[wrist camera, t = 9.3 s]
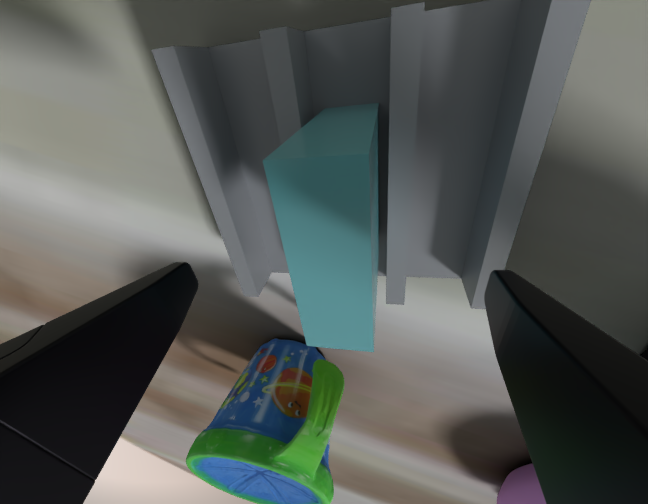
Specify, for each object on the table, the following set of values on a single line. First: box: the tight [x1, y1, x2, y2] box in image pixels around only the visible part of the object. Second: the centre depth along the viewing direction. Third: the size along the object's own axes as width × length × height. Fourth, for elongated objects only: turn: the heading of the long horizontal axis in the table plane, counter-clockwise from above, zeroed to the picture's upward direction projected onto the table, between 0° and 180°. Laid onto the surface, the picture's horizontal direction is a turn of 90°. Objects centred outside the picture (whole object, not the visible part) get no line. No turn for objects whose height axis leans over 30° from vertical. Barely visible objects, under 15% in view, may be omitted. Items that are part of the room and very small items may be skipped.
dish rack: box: [151, 0, 591, 309], centre depth 14 cm, size 13×15×4 cm
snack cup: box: [186, 338, 344, 504], centre depth 23 cm, size 16×10×10 cm
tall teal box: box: [263, 103, 380, 352], centre depth 11 cm, size 7×2×8 cm, turn 7°
